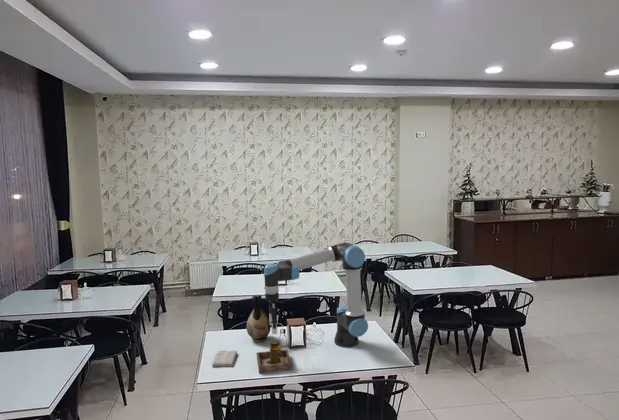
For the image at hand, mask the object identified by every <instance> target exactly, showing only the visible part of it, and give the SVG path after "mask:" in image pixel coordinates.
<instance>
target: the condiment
mask: <svg viewBox="0 0 619 420" xmlns="http://www.w3.org/2000/svg"><path fill="white" fill-rule="evenodd" d="M281 350H282V348H281V345H280V341H279V340H272V341H270V346H269V351H270V360H269V361H266V362H265V363H266V364H267V365H270V364H279V363H283V362H282V361H281Z"/></svg>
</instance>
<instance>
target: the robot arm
mask: <svg viewBox="0 0 619 420" xmlns="http://www.w3.org/2000/svg"><path fill="white" fill-rule="evenodd" d="M365 260H366V255H365V252H364V250H363V249H362V248H360V247H359V246H358V245H354V244H352V243H350V242H341V243H337V244H334V245H333V244H332V245H331V246H328V248H326V249H323V250H320V251H316V252H312V253H309V254H305V255H302V256H298V257H295V258H291V259H287V260H278V261H276V263H273V264H272V263H270V264H266V265H265V266H264V268H263V271H264V273H263V275H264V277H263V278H264V287H263V289H264V292H265V293H264V296H265V297H264V298H265V300H266V301H268V302H267V303H268V315H269V317H268V319H269V322H270V326H271V334H272V335H278V316H277V315H278V314H277V302H276V301H278V300H279V298H280V293H279V291H280V290H279V289H280V288H279V282H284V281H294V280H298V279H299V278H300V271H301V270H304V269H308V268H311V267H315V266H318V265H321V264H325V263H328V262H332V263H335V262H342V264H341V265H342V269H343V270H344V272H345V286H346V287H345V288H346V290H345V291H346V305H341V306H338V307H337V309H336V332H335V333H336V334H335V336H334V341H333V342H334V344H335V345H337V346H338V347H342V348H350V347H351V348H353V347H356V346H357V345H359V342H360V341H359V337H362V336H363V335H365V334H366V332H368V329H369V323H368V321H367V319H366V315H365V314H366V313H365V310H364V309H363V308H362V305H363V304H362V284H361V270H362V269H363V264H364V263H365Z"/></svg>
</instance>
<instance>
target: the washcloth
mask: <svg viewBox="0 0 619 420" xmlns="http://www.w3.org/2000/svg"><path fill="white" fill-rule="evenodd" d="M237 355H238V351H237V350H235V349H234V350H218V351H217V352H216V353H215V355H214V357H213V361H212V364H211V367H214V368H219V367H233V366H234V363H235V361H236V357H237Z"/></svg>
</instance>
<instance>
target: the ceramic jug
mask: <svg viewBox="0 0 619 420" xmlns="http://www.w3.org/2000/svg"><path fill="white" fill-rule="evenodd" d="M262 297H263V296H262V295H260V294H259V295H256V294H255V295H252V297H251V302H252V307H253V310H252V312H251V313H250V314H249V317H248V319H247V322H246V332H247V334H248V336H250V337H251V339H252V341H253V342H256V343H258V342H264V341H267V339H268V336H269V335H270V332H271V330H272V325H270V320H269V317H268V316H267V314H266V313H265V312H264V310H263V309H262V308H261V306H260V300H261V299H262Z"/></svg>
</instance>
